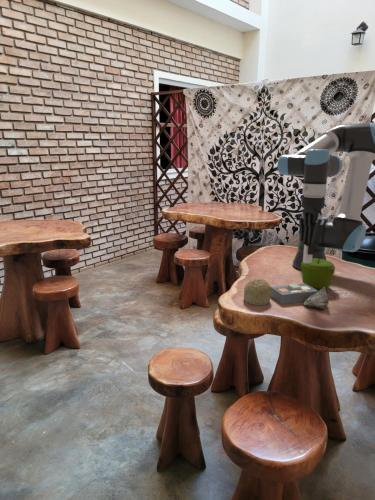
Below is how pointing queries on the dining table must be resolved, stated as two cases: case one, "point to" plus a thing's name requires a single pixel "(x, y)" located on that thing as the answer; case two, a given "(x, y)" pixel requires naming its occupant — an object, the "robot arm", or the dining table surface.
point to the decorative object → (257, 292)
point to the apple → (317, 273)
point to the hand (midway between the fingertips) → (307, 262)
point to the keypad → (292, 294)
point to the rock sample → (317, 300)
